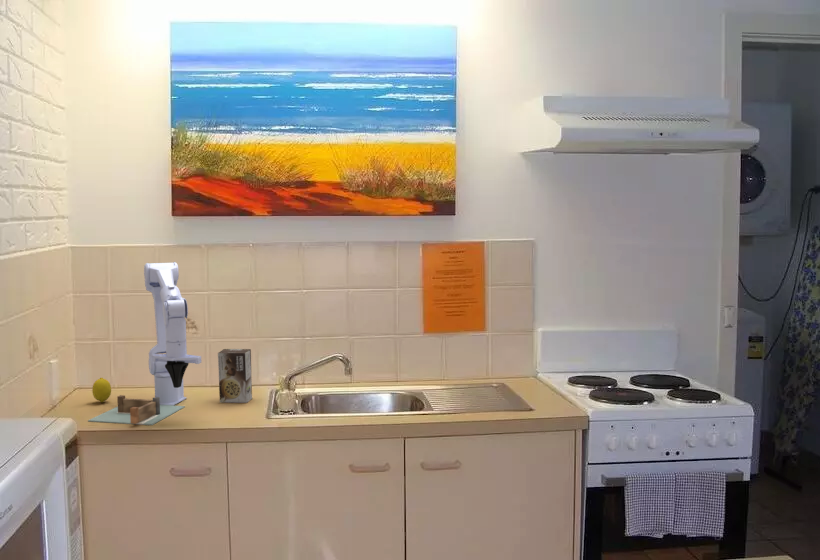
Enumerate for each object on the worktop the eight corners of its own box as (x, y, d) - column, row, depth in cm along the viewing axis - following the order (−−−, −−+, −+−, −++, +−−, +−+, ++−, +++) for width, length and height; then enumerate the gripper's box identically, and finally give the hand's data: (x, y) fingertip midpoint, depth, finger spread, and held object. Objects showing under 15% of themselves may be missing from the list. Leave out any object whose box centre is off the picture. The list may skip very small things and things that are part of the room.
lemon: (114, 400, 256) (113, 375, 255) (108, 404, 250) (107, 379, 249) (96, 400, 256) (95, 375, 255) (90, 404, 250) (89, 379, 249)
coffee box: (252, 398, 259) (251, 348, 257) (246, 403, 252) (245, 352, 251) (225, 397, 260) (224, 348, 258) (218, 402, 253) (217, 352, 252)
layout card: (125, 403, 251) (125, 402, 251) (184, 407, 248) (184, 405, 248) (88, 421, 232) (88, 420, 232) (152, 425, 228) (151, 423, 228)
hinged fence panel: (151, 413, 237) (151, 398, 237) (156, 413, 237) (156, 399, 237) (130, 423, 227) (130, 408, 227) (135, 423, 227) (135, 408, 226)
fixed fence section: (117, 413, 240) (116, 396, 239) (121, 412, 242) (120, 395, 241) (158, 416, 237) (157, 398, 237) (161, 414, 239) (160, 397, 239)
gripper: (146, 342, 230) (147, 388, 232) (193, 344, 227) (194, 391, 229) (158, 338, 237) (159, 383, 238) (204, 339, 234) (205, 385, 236)
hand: (177, 386), depth 234 cm, fingers closed
